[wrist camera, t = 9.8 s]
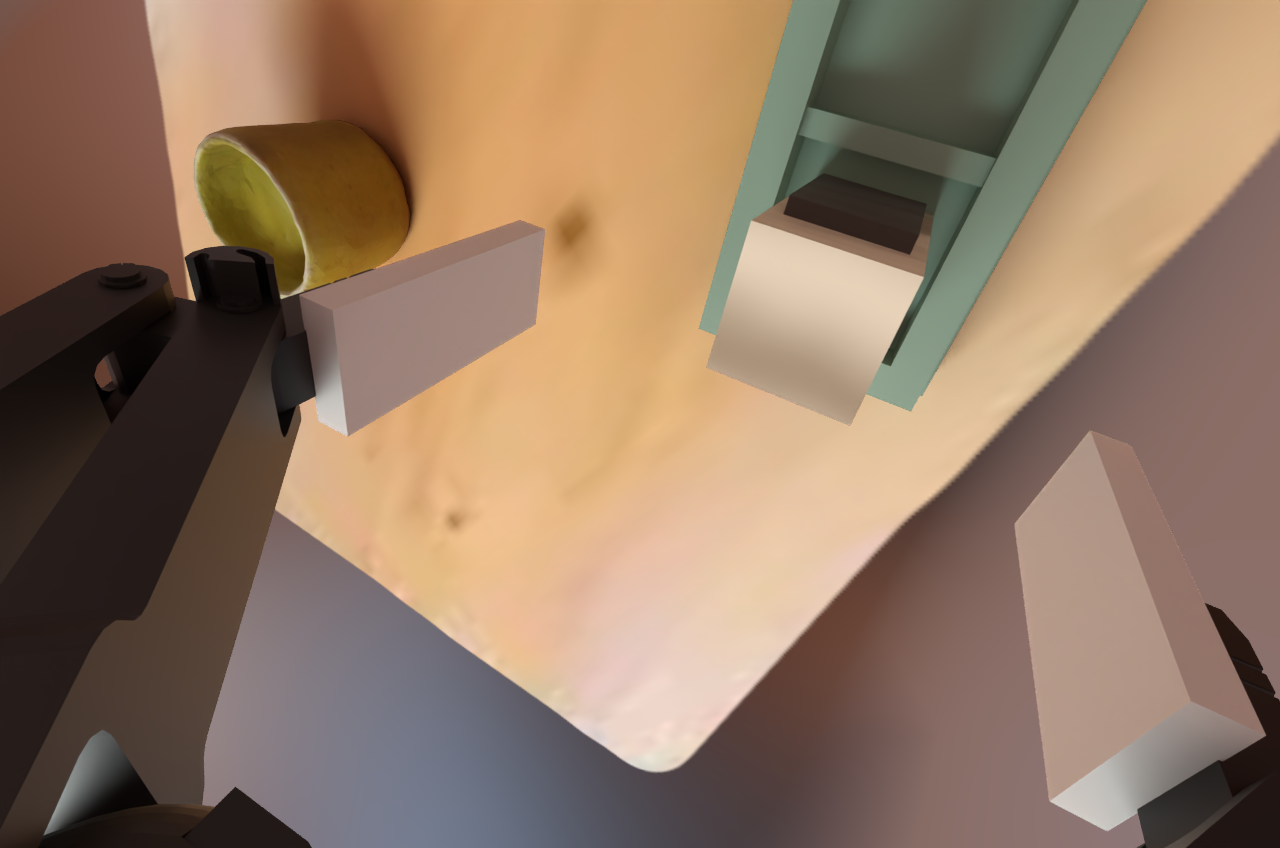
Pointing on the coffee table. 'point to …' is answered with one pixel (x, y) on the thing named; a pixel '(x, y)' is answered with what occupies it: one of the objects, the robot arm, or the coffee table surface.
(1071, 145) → the coffee table surface
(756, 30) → the coffee table surface
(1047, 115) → the teal slotted holder
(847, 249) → the block
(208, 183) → the mug
